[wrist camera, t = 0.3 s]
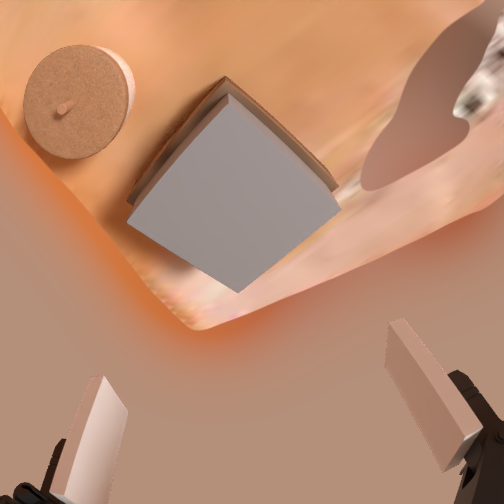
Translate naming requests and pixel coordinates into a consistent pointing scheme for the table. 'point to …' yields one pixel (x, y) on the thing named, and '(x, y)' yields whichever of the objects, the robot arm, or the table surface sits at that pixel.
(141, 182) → the tower base
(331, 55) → the table surface
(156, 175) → the grey square slab
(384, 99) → the table surface
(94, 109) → the lidded jar
